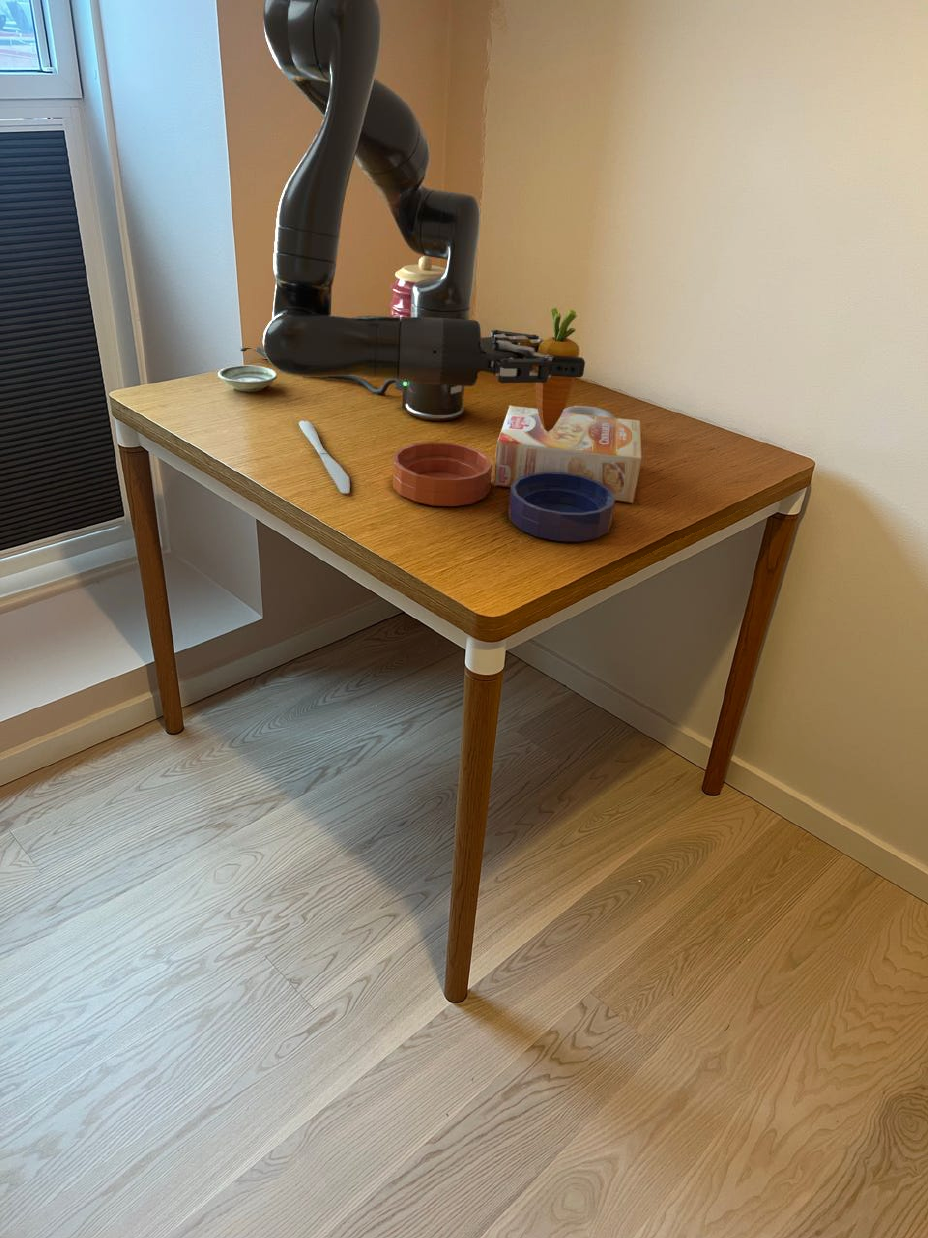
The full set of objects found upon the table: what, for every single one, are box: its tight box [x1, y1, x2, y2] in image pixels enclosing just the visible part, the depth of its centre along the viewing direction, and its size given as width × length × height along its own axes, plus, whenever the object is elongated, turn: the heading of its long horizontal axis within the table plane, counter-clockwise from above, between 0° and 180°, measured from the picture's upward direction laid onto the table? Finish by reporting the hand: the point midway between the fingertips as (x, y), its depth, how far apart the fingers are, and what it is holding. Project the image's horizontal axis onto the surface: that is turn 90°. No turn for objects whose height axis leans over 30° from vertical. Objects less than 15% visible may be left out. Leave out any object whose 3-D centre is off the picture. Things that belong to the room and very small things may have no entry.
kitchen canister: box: [389, 255, 446, 319], centre depth 176 cm, size 13×13×18 cm
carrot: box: [534, 307, 580, 432], centre depth 110 cm, size 5×5×15 cm
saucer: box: [217, 364, 278, 392], centre depth 154 cm, size 10×10×2 cm
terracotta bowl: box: [392, 441, 493, 507], centre depth 124 cm, size 13×13×4 cm
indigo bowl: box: [507, 472, 616, 543], centre depth 118 cm, size 13×13×4 cm
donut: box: [563, 405, 616, 418], centre depth 146 cm, size 10×4×10 cm
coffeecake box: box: [493, 404, 642, 504], centre depth 130 cm, size 15×7×20 cm
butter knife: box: [298, 420, 351, 495], centre depth 131 cm, size 1×27×3 cm
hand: (578, 360), depth 109 cm, fingers closed on carrot, 5 cm apart
